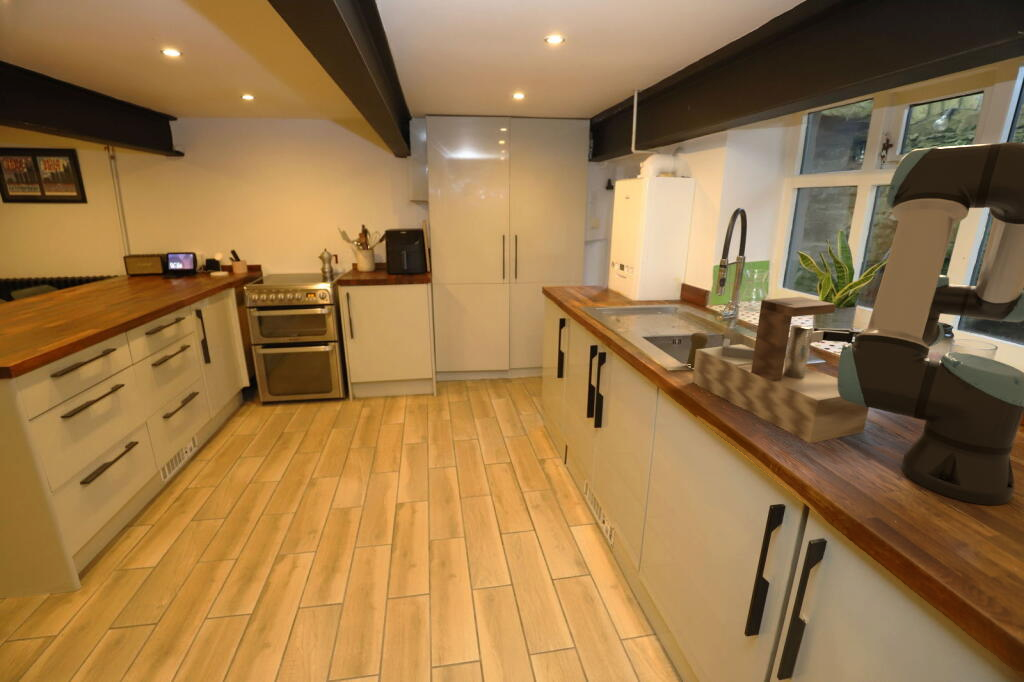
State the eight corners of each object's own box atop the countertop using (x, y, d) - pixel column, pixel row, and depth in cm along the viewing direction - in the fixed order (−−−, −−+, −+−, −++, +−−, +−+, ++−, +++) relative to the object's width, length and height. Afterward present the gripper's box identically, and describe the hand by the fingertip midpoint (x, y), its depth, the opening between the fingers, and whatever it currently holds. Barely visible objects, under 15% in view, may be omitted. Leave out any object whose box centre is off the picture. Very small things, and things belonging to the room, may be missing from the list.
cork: (703, 371, 145) (707, 337, 142) (683, 367, 148) (687, 334, 145) (708, 366, 149) (712, 332, 146) (689, 362, 153) (693, 329, 150)
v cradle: (778, 360, 124) (780, 349, 123) (735, 366, 119) (737, 355, 119) (738, 345, 136) (739, 336, 136) (698, 350, 132) (699, 340, 131)
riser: (863, 432, 106) (872, 390, 103) (809, 443, 101) (818, 400, 98) (736, 376, 141) (741, 344, 138) (692, 382, 136) (696, 349, 133)
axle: (807, 379, 110) (816, 330, 107) (786, 378, 111) (795, 329, 108) (800, 373, 114) (808, 325, 111) (780, 371, 115) (788, 324, 112)
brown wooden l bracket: (821, 379, 110) (836, 303, 105) (781, 385, 107) (795, 307, 102) (788, 367, 118) (800, 296, 113) (751, 372, 115) (761, 300, 110)
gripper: (941, 366, 110) (876, 377, 103) (839, 339, 132) (781, 346, 126) (949, 336, 108) (883, 344, 101) (845, 313, 130) (785, 319, 124)
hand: (826, 345), depth 114 cm, fingers open, 13 cm apart
